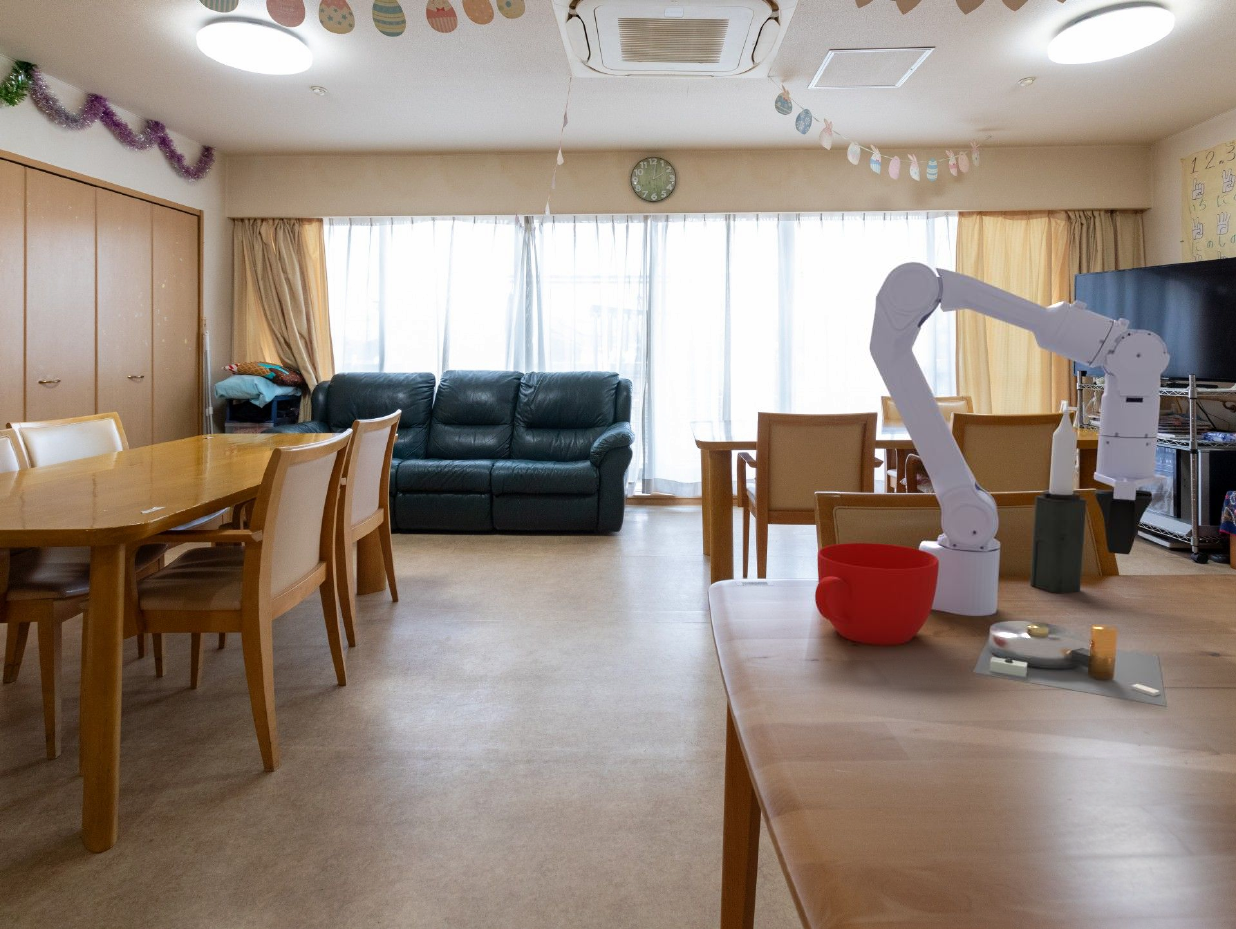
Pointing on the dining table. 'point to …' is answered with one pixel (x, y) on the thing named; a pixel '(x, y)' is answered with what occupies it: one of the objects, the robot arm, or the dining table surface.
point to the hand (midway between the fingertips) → (1118, 552)
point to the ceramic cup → (876, 590)
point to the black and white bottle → (1059, 520)
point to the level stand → (1086, 676)
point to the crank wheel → (1056, 646)
